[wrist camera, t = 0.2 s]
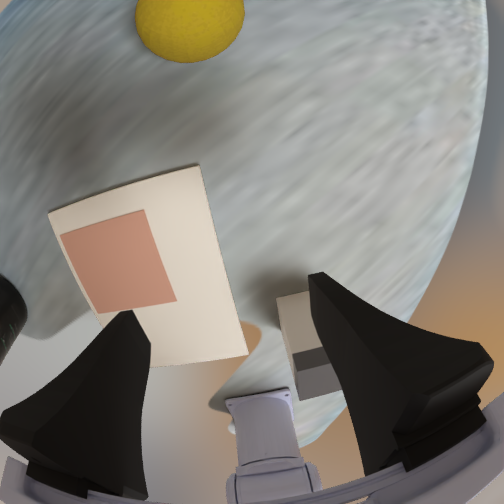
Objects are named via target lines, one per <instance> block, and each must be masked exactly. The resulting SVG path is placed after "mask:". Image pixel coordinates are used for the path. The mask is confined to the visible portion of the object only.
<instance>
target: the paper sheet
mask: <svg viewBox="0 0 504 504" xmlns="http://www.w3.org/2000/svg"><path fill="white" fill-rule="evenodd" d="M47 215H48V217H49V220H50V223H51V225H52V228H53V230H54V233H55V235H56V238H57V240H58V242H59V245H60V247H61V249H62V252H63V254H64V256H65V258H66V260H67V263H68V265H69V267H70V269H71V271H72V273H73V275H74V277H75V279H76V281H77V283H78V285H79V287H80V289H81V291H82V292H83V294H84V296H85V298H86V300H87V302H88V303H89V305H90V307H91V309H92V311H93V312H94V314H95V316H96V317H97V319H98V321H99V322H100V324H101V325H102V327H103V329H104V328H105V326H106V325H107V324H108V323H109V322H110V321H111V320H112V319H113V318H114V317H115V316H116V315H117V314H118V313H119V312H120V311H126V310H133V312H134V314H135V315H136V317H137V319H138V321H139V323H140V325H141V327H142V328H143V330H144V332H145V334H146V335H147V337H148V339H149V341H150V342H151V360H150V368H152V367H162V366H173V365H182V364H190V363H198V362H205V361H212V360H218V359H225V358H231V357H237V356H243V355H248V354H249V353H248V349H247V345H246V342H245V339H244V335H243V332H242V328H241V324H240V321H239V317H238V314H237V310H236V307H235V303H234V299H233V296H232V292H231V288H230V285H229V281H228V277H227V273H226V270H225V266H224V262H223V258H222V254H221V250H220V247H219V243H218V239H217V235H216V231H215V227H214V223H213V219H212V215H211V211H210V207H209V203H208V198H207V194H206V190H205V186H204V182H203V177H202V173H201V169H200V165H197V166H193V167H189V168H185V169H181V170H177V171H173V172H169V173H166V174H162V175H158V176H155V177H151V178H148V179H144V180H141V181H138V182H134V183H131V184H128V185H125V186H121V187H118V188H115V189H112V190H109V191H106V192H103V193H100V194H97V195H95V196H92V197H89V198H86V199H83V200H81V201H78V202H75V203H73V204H70V205H67V206H65V207H62V208H60V209H57V210H55V211H52V212H50V213H49V214H47Z"/></svg>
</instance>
